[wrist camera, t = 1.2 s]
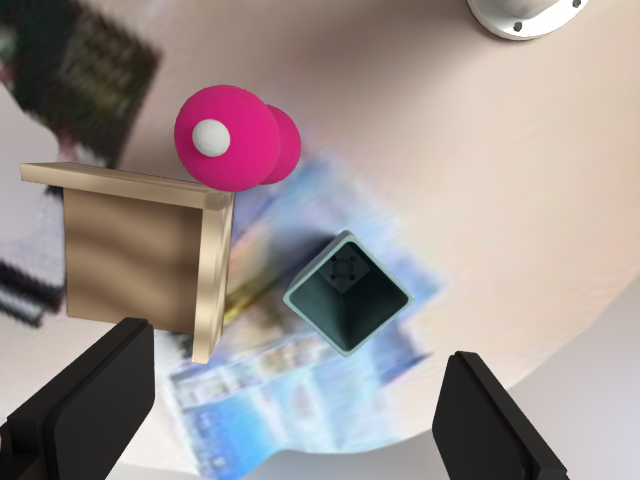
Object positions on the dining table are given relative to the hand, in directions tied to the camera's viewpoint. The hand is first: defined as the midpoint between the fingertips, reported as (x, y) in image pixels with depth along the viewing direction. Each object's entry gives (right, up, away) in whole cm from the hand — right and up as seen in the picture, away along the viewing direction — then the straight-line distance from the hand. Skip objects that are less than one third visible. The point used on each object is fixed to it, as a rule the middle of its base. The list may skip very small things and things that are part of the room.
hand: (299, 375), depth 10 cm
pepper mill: (-5, +14, +25) cm, 29 cm away
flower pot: (+3, +1, +28) cm, 28 cm away
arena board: (-19, +3, +27) cm, 33 cm away
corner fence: (-19, +3, +27) cm, 33 cm away
